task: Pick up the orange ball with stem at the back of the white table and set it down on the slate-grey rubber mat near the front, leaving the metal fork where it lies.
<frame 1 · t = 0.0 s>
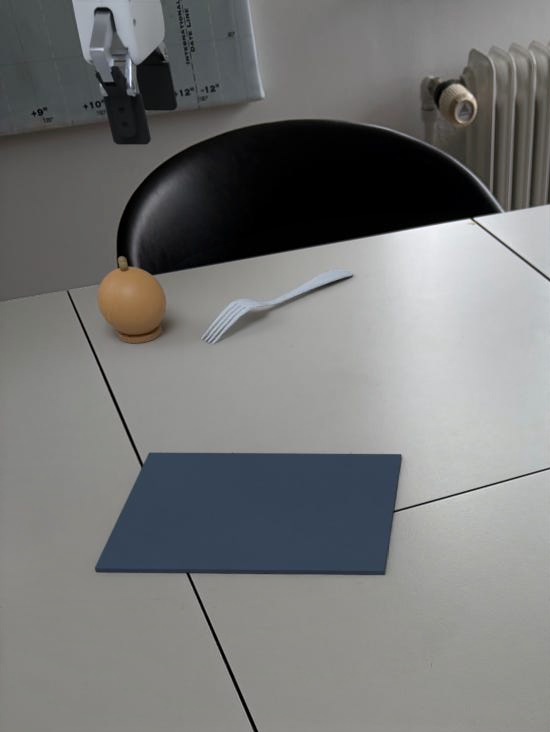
hand: (147, 125, 95), 20 cm above the table, tool pointing down, fingers open, 9 cm apart
fork: (281, 307, 112), on the table
mat: (258, 511, 84), on the table
orange ball with stem: (140, 333, 108), on the table
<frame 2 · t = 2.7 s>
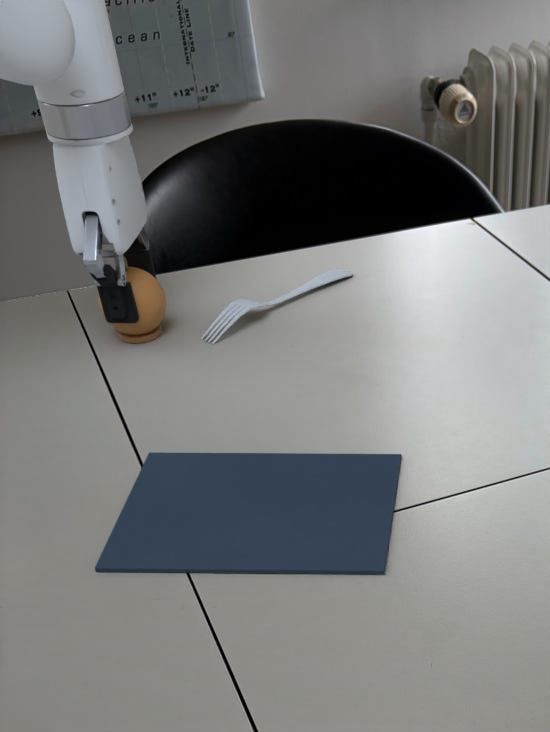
hand: (133, 304, 105), 3 cm above the table, tool pointing down, fingers closed on orange ball with stem, 6 cm apart
orange ball with stem: (140, 333, 108), on the table, touching gripper
everything else where it was.
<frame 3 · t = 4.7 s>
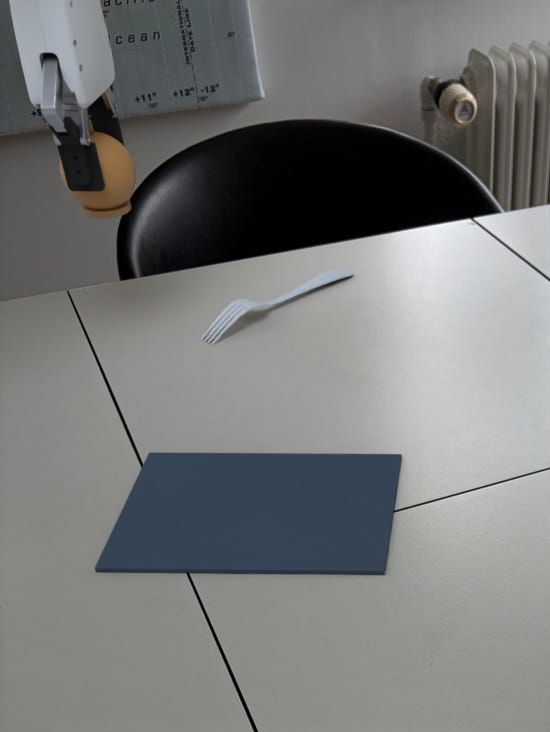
hand: (98, 174, 96), 16 cm above the table, tool pointing down, fingers closed on orange ball with stem, 6 cm apart
orange ball with stem: (107, 210, 98), point 13 cm above the table, touching gripper
everything else where it was.
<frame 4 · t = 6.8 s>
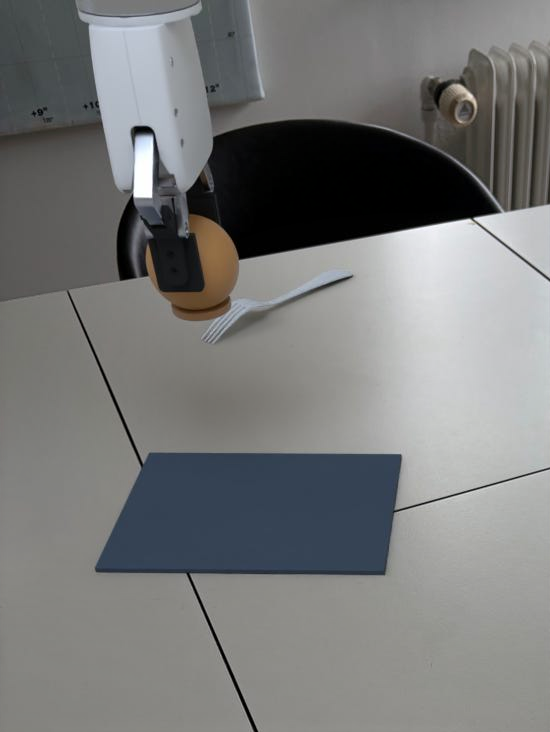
hand: (193, 266, 76), 18 cm above the table, tool pointing down, fingers closed on orange ball with stem, 6 cm apart
orange ball with stem: (202, 308, 78), point 15 cm above the table, touching gripper
everything else where it was.
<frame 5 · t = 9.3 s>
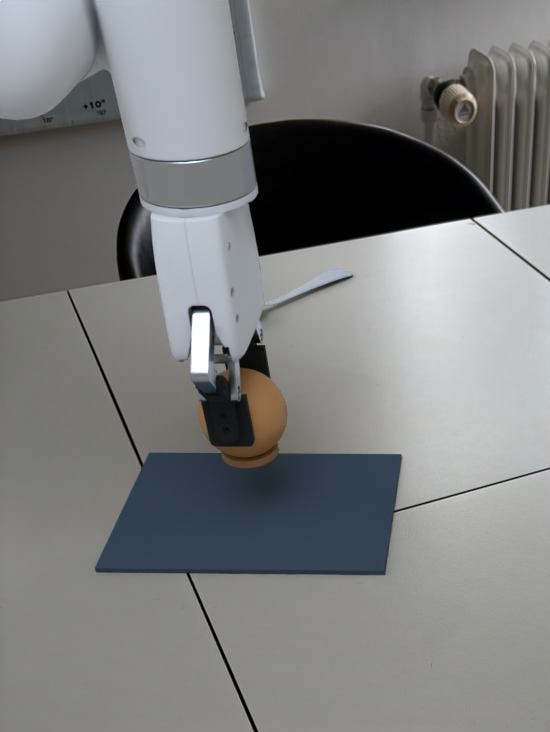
hand: (242, 416, 79), 9 cm above the table, tool pointing down, fingers closed on orange ball with stem, 6 cm apart
orange ball with stem: (250, 452, 81), point 6 cm above the table, touching gripper
everything else where it was.
when the fingers open (4 cm above the table, at t = 11.1 s): orange ball with stem stays where it is, resting on mat.
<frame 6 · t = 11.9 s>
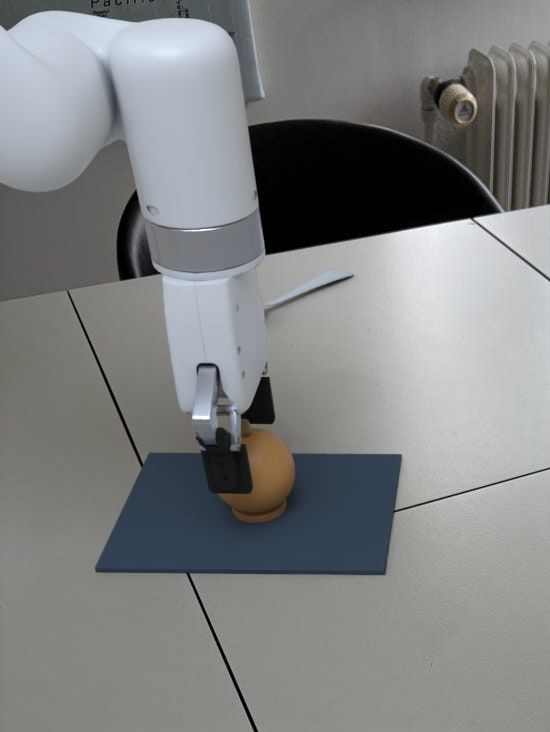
hand: (244, 455, 81), 5 cm above the table, tool pointing down, fingers open, 9 cm apart
orange ball with stem: (259, 507, 84), resting on mat
everything else where it was.
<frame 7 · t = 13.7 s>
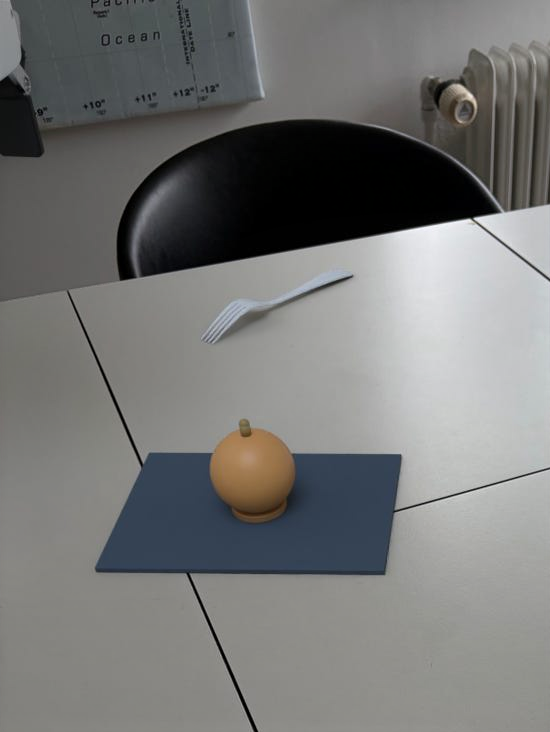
nothing on the table moved.
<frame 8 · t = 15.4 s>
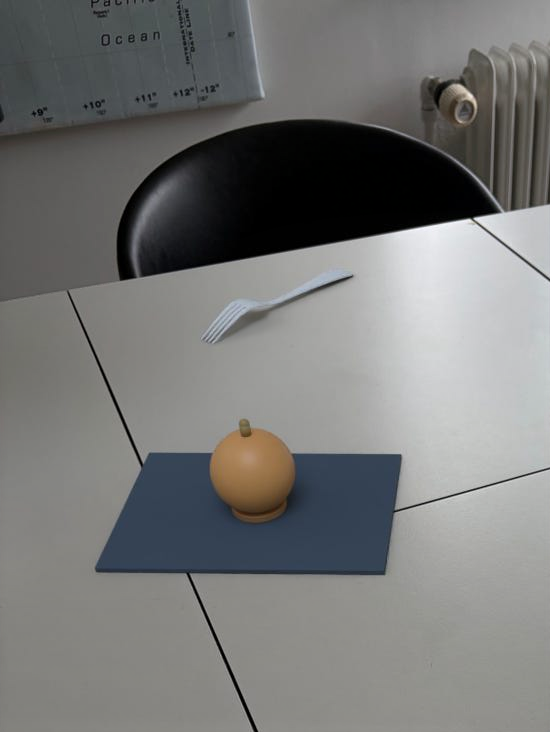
nothing on the table moved.
at the end: orange ball with stem inside the target area on the mat (0.1 cm from its centre), point 0.4 cm above the mat's base; the gripper is holding nothing; orange ball with stem moved 35.9 cm from its start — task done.
